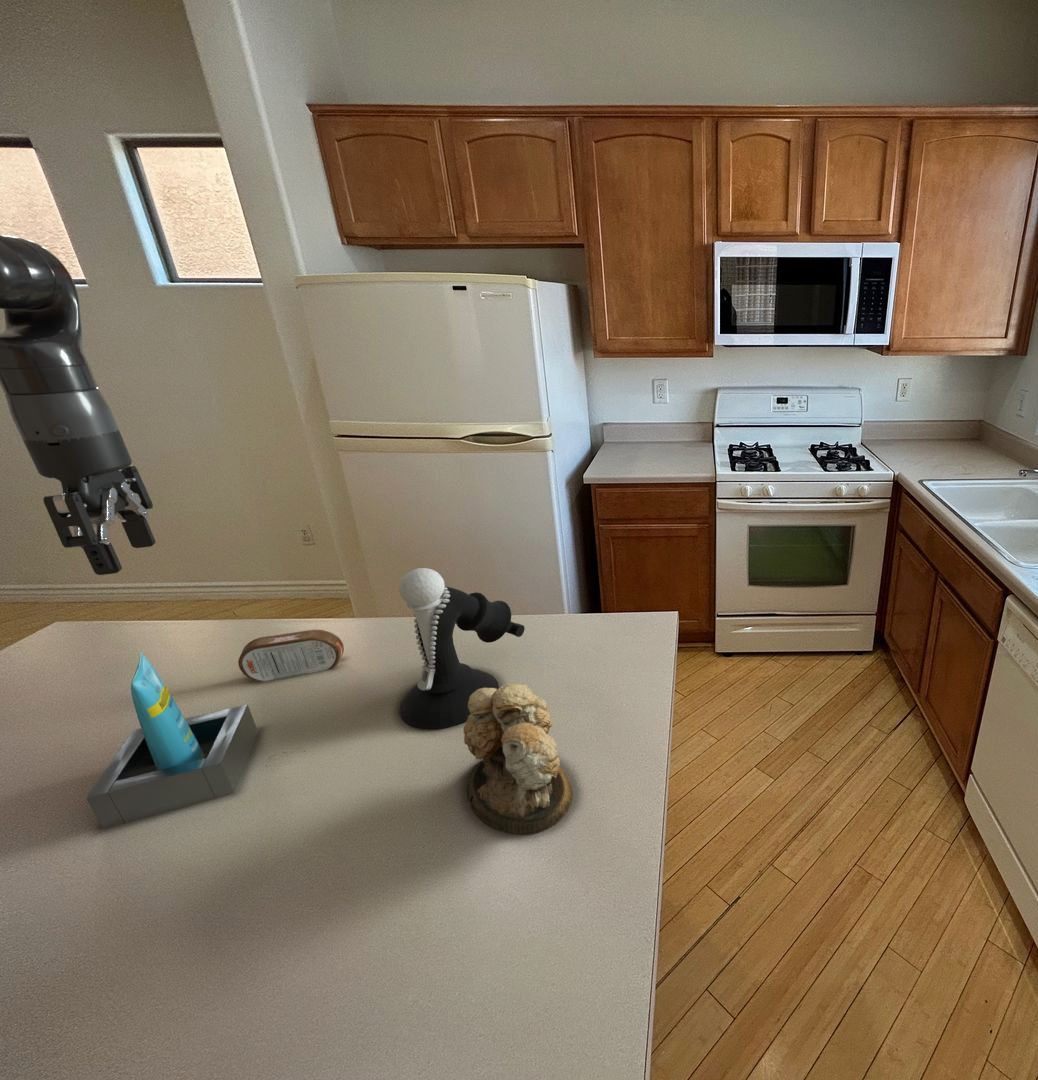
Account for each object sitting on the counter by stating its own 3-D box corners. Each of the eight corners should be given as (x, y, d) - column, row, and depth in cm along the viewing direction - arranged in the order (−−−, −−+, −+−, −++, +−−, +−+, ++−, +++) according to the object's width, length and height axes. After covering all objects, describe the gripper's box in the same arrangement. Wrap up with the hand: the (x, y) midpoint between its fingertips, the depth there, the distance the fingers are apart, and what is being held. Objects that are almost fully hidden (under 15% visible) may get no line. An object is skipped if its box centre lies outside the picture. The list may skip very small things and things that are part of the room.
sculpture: (381, 712, 90) (342, 575, 81) (498, 643, 109) (478, 526, 100) (440, 746, 84) (406, 601, 74) (554, 666, 103) (539, 543, 93)
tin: (349, 662, 103) (337, 623, 100) (345, 671, 100) (333, 632, 97) (251, 679, 98) (235, 639, 95) (244, 690, 95) (228, 649, 92)
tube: (213, 786, 76) (160, 671, 69) (166, 805, 73) (105, 687, 66) (210, 756, 81) (161, 646, 74) (166, 773, 78) (109, 660, 71)
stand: (105, 833, 69) (85, 798, 67) (149, 762, 80) (132, 730, 78) (235, 797, 75) (220, 763, 72) (260, 735, 85) (247, 704, 83)
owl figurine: (440, 790, 76) (416, 689, 69) (513, 740, 85) (497, 646, 78) (523, 859, 67) (504, 749, 60) (595, 794, 76) (585, 693, 69)
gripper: (65, 422, 68) (119, 543, 74) (-22, 446, 56) (51, 588, 62) (144, 418, 71) (189, 535, 77) (78, 441, 58) (138, 577, 65)
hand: (128, 559), depth 69 cm, fingers open, 8 cm apart
